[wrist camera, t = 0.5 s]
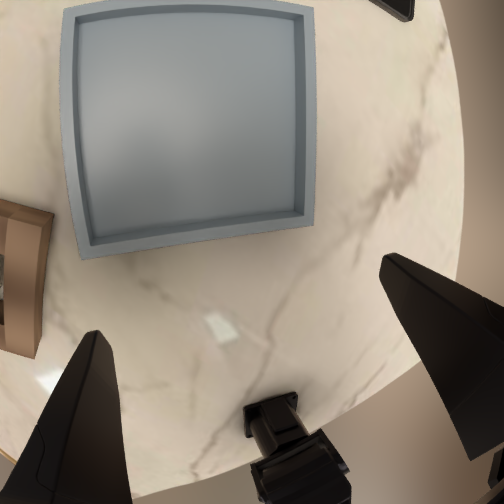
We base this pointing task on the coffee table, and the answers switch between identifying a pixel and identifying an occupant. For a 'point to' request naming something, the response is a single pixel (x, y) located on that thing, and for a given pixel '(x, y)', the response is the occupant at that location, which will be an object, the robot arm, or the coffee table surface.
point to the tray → (187, 120)
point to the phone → (397, 8)
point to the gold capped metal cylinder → (1, 269)
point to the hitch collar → (23, 276)
